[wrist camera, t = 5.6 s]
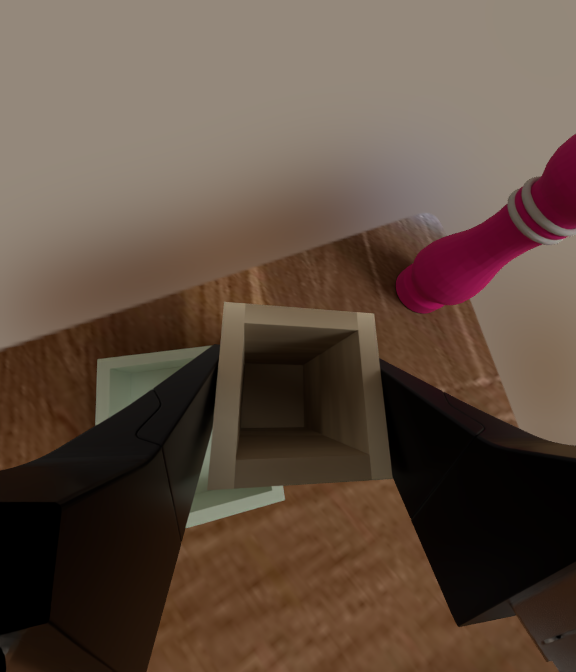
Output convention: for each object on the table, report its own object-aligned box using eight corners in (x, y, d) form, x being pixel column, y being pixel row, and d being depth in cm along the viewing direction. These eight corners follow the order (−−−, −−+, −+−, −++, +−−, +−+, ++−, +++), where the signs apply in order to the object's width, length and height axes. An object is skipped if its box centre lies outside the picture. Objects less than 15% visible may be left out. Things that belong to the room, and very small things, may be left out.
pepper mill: (452, 302, 29) (840, 122, 10) (414, 327, 27) (816, 158, 8) (419, 258, 30) (716, 19, 11) (380, 278, 28) (665, 26, 9)
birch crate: (311, 436, 15) (392, 478, 7) (229, 438, 14) (206, 489, 6) (309, 357, 17) (373, 313, 8) (235, 354, 16) (224, 301, 8)
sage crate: (277, 480, 20) (284, 499, 16) (124, 520, 17) (90, 555, 13) (258, 349, 23) (261, 339, 19) (125, 366, 20) (97, 359, 16)
